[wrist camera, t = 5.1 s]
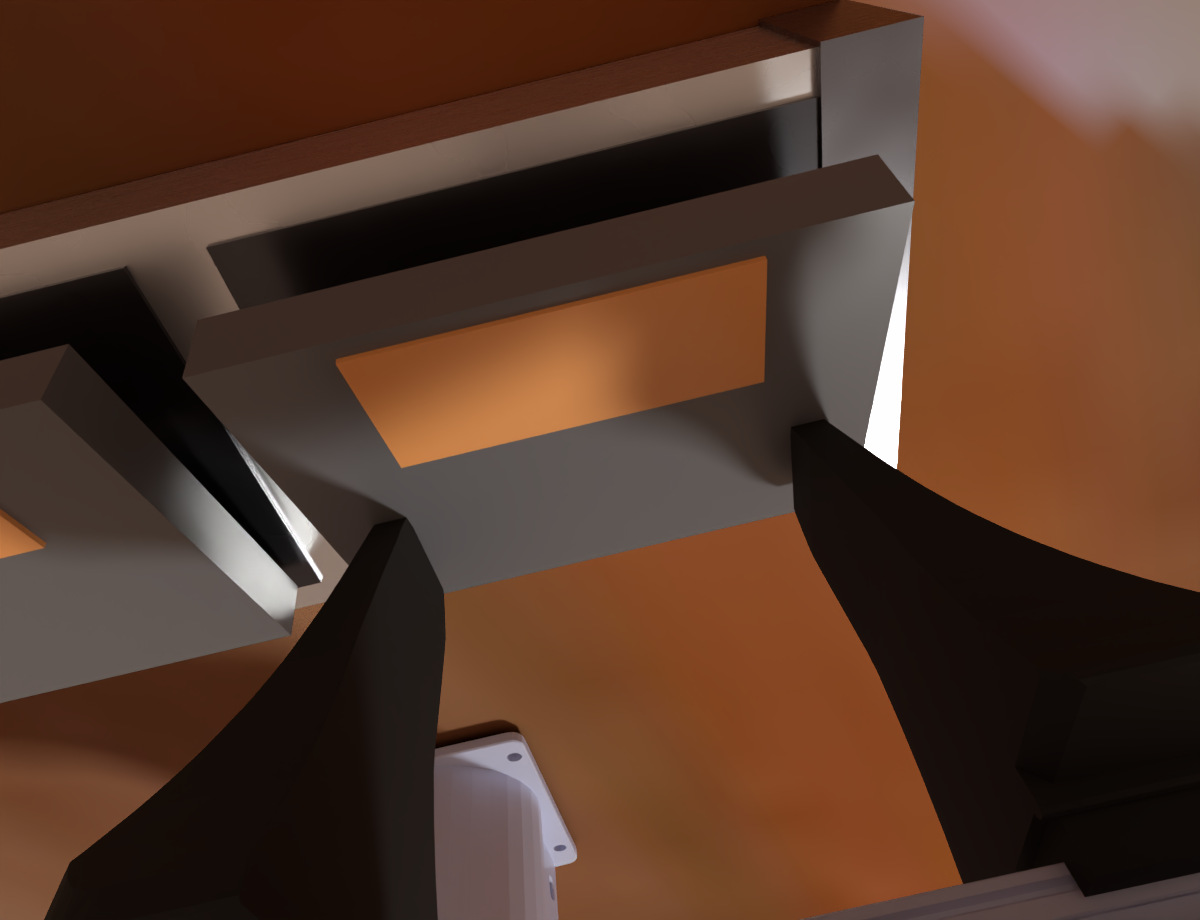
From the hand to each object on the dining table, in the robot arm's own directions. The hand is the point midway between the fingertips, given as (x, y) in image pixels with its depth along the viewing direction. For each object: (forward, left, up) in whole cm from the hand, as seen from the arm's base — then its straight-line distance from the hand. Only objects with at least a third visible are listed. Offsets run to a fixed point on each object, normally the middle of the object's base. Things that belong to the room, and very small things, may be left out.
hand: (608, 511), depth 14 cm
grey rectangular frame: (+2, 0, -1) cm, 2 cm away
